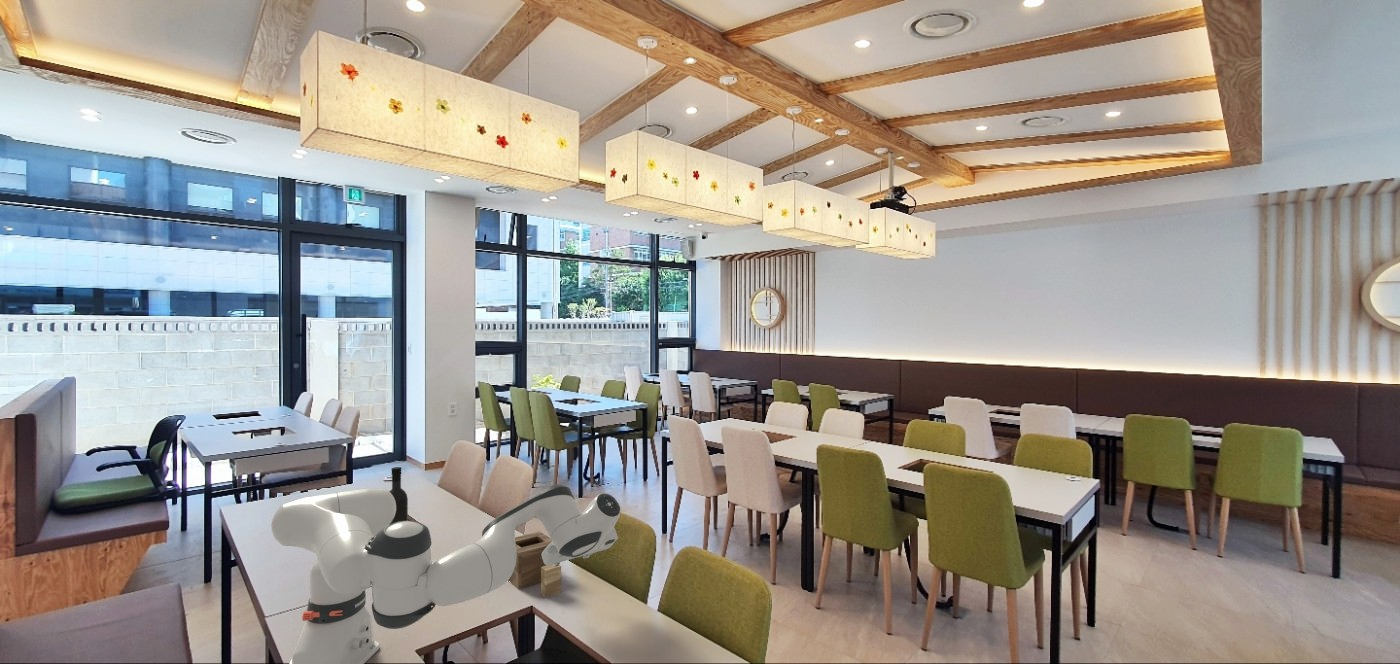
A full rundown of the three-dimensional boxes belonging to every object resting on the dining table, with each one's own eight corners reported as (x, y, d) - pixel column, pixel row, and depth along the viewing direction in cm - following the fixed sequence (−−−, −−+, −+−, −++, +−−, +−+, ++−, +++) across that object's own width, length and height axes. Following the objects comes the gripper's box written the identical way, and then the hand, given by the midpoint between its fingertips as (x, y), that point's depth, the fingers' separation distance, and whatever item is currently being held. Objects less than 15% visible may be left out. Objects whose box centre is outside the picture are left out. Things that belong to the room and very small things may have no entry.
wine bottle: (392, 559, 202) (392, 470, 202) (384, 555, 206) (383, 468, 205) (409, 554, 207) (408, 467, 206) (400, 550, 210) (400, 465, 210)
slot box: (557, 577, 189) (557, 542, 189) (518, 589, 181) (518, 553, 181) (539, 564, 199) (539, 531, 199) (501, 575, 191) (501, 540, 191)
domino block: (561, 592, 179) (561, 565, 179) (545, 597, 176) (545, 570, 176) (556, 589, 181) (556, 562, 181) (541, 593, 178) (541, 567, 178)
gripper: (555, 555, 154) (538, 580, 162) (623, 537, 167) (604, 561, 175) (547, 533, 157) (531, 559, 165) (614, 517, 171) (596, 541, 178)
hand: (569, 560), depth 170 cm, fingers open, 8 cm apart
